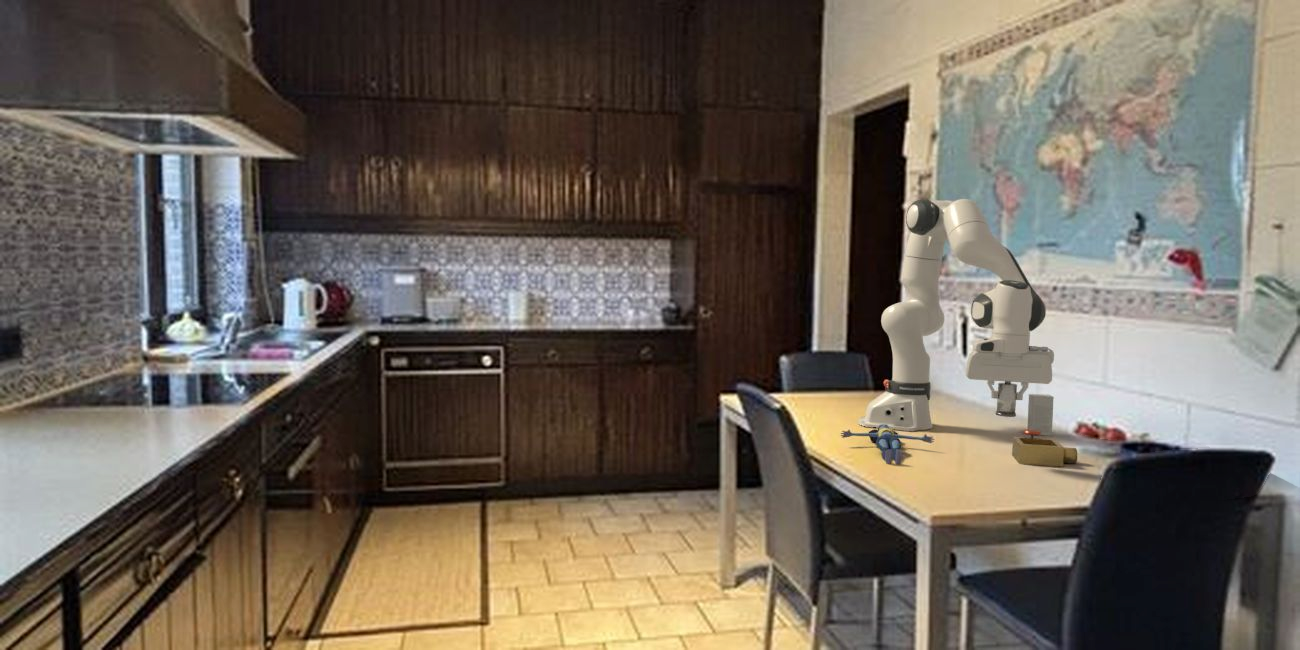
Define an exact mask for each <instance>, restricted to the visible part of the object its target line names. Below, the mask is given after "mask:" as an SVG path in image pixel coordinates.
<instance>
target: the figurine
mask: <svg viewBox="0 0 1300 650" xmlns="http://www.w3.org/2000/svg"><path fill="white" fill-rule="evenodd" d="M840 437H841V438H842V439H843V438H850V437H869V439H870V442H871V443H875V445H876V448H877V449H878V450H880V451H881V458H882V459H883V460H884V462H885V463H886V465H891V464H892V459H893V461H894V464H895V465H898V466H900V465H901V464H902V459H903V451H902V442H901V440H900V439H906V440H916V441H917V440H919V441H922V442H925V443H929V444H933V443H934V442H935V438H934V436H933V435H932V436H928V435H927V434H926V433H925V434H923V436H922V437H920V436H911V435H904V434H899V433H898V432H896V430H894V429H889V426H888V425H885V424H882V425H880V426H879V428H874V429H872V430H870V431H868V432H863V433H862V432H861V433H858V432H851V430H850V429H848V430H842V431H841V433H840Z"/></svg>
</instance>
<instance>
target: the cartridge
mask: <svg viewBox="0 0 1300 650" xmlns="http://www.w3.org/2000/svg"><path fill="white" fill-rule="evenodd" d="M1017 390H1018V384H1017V383H1014V382H1006V381H1004V382H999V383H998V384H997V391H998V392H999V394H998V399H996V400H997V401H996V411H995V415H996V416H999V417H1006V418H1015V417H1016V416H1017V413H1016V408H1017V407H1016V405H1017V400H1016V394H1017V392H1018V391H1017Z"/></svg>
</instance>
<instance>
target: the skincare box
mask: <svg viewBox="0 0 1300 650" xmlns="http://www.w3.org/2000/svg"><path fill="white" fill-rule="evenodd" d="M1054 399H1055V398H1054V396H1052V395H1051V394H1038V393H1037V394H1036V393H1035V394H1034V393H1029V394H1028V404H1027V405H1028V406H1027V407H1028V408H1027V429H1030V430H1038V431H1041V435H1040V436H1047V437H1048V436H1053V418H1054Z"/></svg>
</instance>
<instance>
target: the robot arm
mask: <svg viewBox="0 0 1300 650" xmlns="http://www.w3.org/2000/svg"><path fill="white" fill-rule="evenodd" d="M905 216H906V217H905V223H906V226H907V229H908V230H909V232H910V234H909V236H908V239H907V243H906V248H905V251H904V258H903V264H902V272H901V278H900V280H901V283H902V285H903V287H904V289H905V301H900V302H897V303H894V304H891V305H890V306H888V307H887V308H885V309H884V310H883V312H882V314H881V320H880V322H881V327H882V329H883V331H884V332H885V333H886V335H887V336H888V338H889V339H888V340H889V343H890V346H891V352H892V378H891V380H889V379H884V381H883V386H884V389H885V391H884V392H883V393H881V394H880V395H878V396H877V397H875V398H874V399H872V400H871V401H870V402H869V403H868V404H867V407H866V408H865V414H864V415H865V416H861V417H859V418H858V420H857V421H858V422H857V423H858V425H859V424H860V426H861V425H862V426H861V427H864V426H865V427H866V428H873V427H876V428H875V429H878V428H879V426H880V425H882V424H885V425H888V426H889V429H892V430H894V429H895V430H894V431H906V432H915V431H920V430H921V431H924V430H930V429H932V428H933V423H932V418H931V411H930V398H931V388H932V387H931V382H930V368H931V357H930V355H929V353H928V352H927V351H926V348H925V343H924V339H923V338H924V337H927V336H931V335H932V334H935V333H936V332H938V331H939V330H940V329H941V328H942V327H943V326H944V323H945V313H944V311H943V310H942V307H941V305H940V304H941V303H940V296H939V279H940V274H941V268H942V261H943V255H944V247H945V243H947V241H948V242H949V245H950V248H951V251H952V254H953V255H955V257H956V259H958V260H959V261H960V262H962V263H964V264H966V265H969V266H973V267H976V268H979V269H983V270H986V271H989V272H991V273H993V274H995V275H996V276H998V277H999V278H1000V279H1001V281H999V282H997V284H996V286H995V287H994V288H993V289H991V290H989V291H986V292H983V293H982V292H981V293H980V294H978V295H976V296H975V298H974V300H973V301H972V303H971V308H970V314H971V315H970V316H971V320H972V321H973V322H974V323H975V324H976V325H977V326H978V327H980V328H982V329H989V330H992V333H991V336H990V337H986V338H981V339H977V340H974V341H973V342H972V348H973V350H972V351H970V353H969V355H968V356H967V362H966V367H965V376H966V377H967V378H968V379H969V380H974V381H987V383H986V384H987V386H988V387H989V389H990V391H991V392H990V394H991V395H990V397H991V399H996V400H997V399H998V394H999V392H998V390H995V388H994V387H993V386H995V383H996V382H1005V381H1006V382H1011V383H1020V386H1021V389H1020V390H1019V391H1017V394H1016V401H1023V400H1024V394H1025V393H1026V391H1027V390H1028V389H1029V384H1041V385H1042V384H1043V385H1045V384H1046V385H1048V384H1050V383H1051V382H1052V381H1053V366H1052V364H1053V363H1054V360H1055V353H1054V351H1053V350H1052V349H1051V348H1049V347H1048V346H1038V345H1037V346H1036V345H1030V339H1031V332H1033V331H1035V330H1036V329H1037V328H1038V327H1040V325H1041V324H1042V323H1043V322H1044V320H1045V318H1046V314H1047V310H1046V305H1045V302H1044V301H1043V299H1042V298H1041V297H1040V296H1039V294H1038V293H1037V292H1036V291H1035V290H1034V288H1033V287H1032V285H1031V283H1030V282H1029V280H1028V278H1027V277H1026V275H1025V273H1024V272H1023V270H1022V267H1021V266H1020V264H1019V263H1018V261H1017V259H1016V258H1015V257H1014V254H1013V253H1012V252H1011V250H1009V249H1008V248H1007V247H1005V246H1004V245H1003V244H1002V243H1001V242H1000V241H999V240H998V239H997V238H996V237H995V236H994V234H993V232H992V231H991V230H990V227H989V224H988V221H987V220H986V217H985V216H984V213H983V212H982V210H981V209H980V207H979V206H978V204H977V203H976V202H975V201H973V200H972V199H969V198H960V199H956V200H946V199H945V200H938V199H937V200H936V199H935V200H934V199H933V200H932V199H931V200H929V199H927V198H925V199H917V200H915V201H912V203H911V204H910V205H909V207H908V208H907V210H906V214H905Z"/></svg>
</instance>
